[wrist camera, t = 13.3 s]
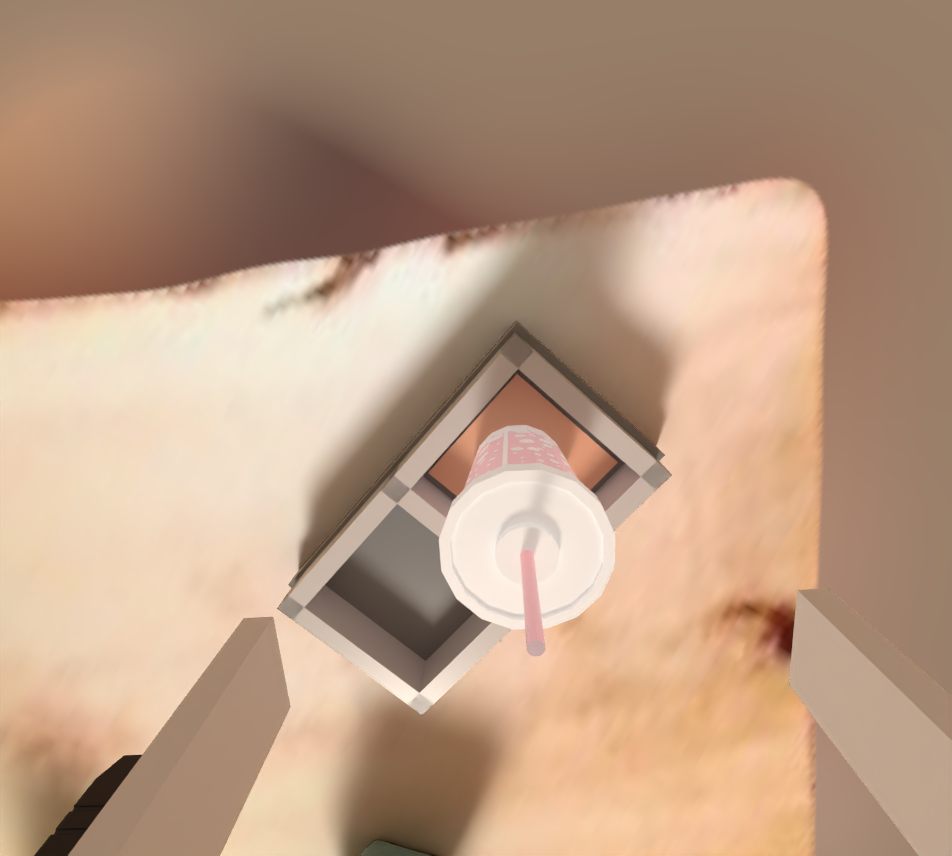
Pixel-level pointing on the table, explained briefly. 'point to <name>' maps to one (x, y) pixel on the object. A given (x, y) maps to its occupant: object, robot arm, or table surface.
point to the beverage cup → (526, 537)
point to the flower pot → (389, 850)
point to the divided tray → (425, 510)
